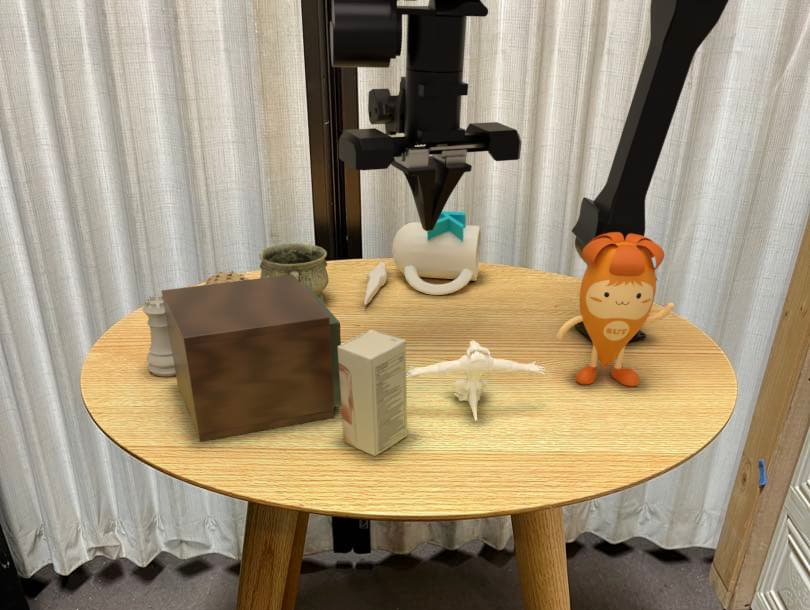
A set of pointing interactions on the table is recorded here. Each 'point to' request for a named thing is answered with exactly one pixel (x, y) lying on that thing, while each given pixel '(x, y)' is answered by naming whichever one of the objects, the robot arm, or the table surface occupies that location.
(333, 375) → the drawer
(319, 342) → the cabinet
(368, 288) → the pale tapered spike
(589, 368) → the toy figure
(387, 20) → the robot arm
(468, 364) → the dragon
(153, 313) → the rook chess piece
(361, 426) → the printed medicine carton
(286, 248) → the vessel
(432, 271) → the mug
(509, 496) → the table surface
